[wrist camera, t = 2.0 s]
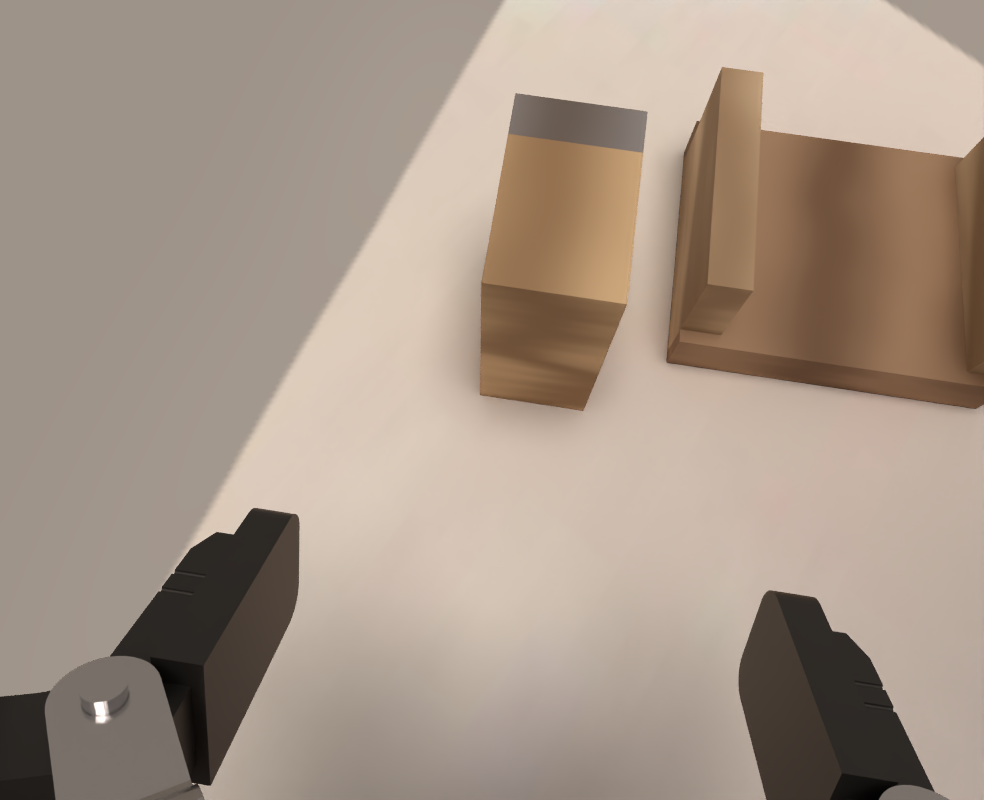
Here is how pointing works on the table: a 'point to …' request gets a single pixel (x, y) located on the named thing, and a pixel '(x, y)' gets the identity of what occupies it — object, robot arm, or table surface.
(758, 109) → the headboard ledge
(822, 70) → the table surface
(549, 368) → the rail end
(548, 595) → the table surface
